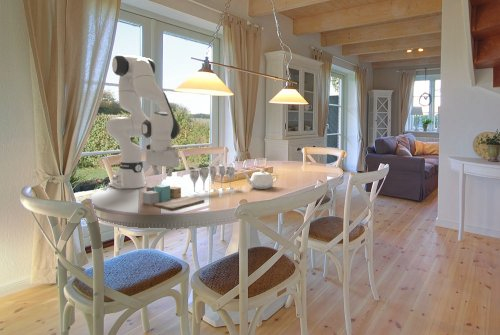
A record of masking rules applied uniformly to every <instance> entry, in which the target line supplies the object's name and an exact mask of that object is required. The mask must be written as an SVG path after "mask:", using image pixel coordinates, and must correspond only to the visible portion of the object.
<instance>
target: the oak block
mask: <svg viewBox="0 0 500 335" xmlns="http://www.w3.org/2000/svg"><path fill="white" fill-rule="evenodd" d="M181 197H182V187H179V186H170V200H172V199H177V198H181Z"/></svg>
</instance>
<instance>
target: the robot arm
mask: <svg viewBox="0 0 500 335" xmlns="http://www.w3.org/2000/svg"><path fill="white" fill-rule="evenodd" d="M111 68H112V72H113V73H114V74H115V75H117V76H119V79H118V105H119V106H120V108H121V109H122V110H124V111H125V112H128V113H129V114H130V116H129V117H127V116H125V117H124V116H118V117H112V118H111V117H110V118H109V119H108V120H107V122H106V124H105V130H106V133H107V134H108V135H109V136H110V137H112V138H113V139H114V140H115V141H116V143H117V144H118V147H119V149H120V160H121V161H120V162H119V163H118V165H119V168H118V169H117V170H116V171H115V173H113V175H112V181H111V182H108V183H107V184H108V186H109V187H112V188H115V189H119V190H121V189H122V190H123V189H138V188H144V187H146V185H147V181H146V176H145V170H144V169H143V168H144V162H143V154H142V153H143V152H142V150H143V149H142V147H141V146H140V145H139V144H137V143H135V142H133V141H132V139H131V138H144V137H145V138H146V139H149V140H151V142H149V143H148V144H146V145H145V150H146V151H145V162H146V164H147V165H148V166H151V168H152V170H153V175H159V174H160V172H159V170H158V167H165V168H166V167H167V169H168V172H166V177H172V176H173V171H174V169H175V168H179V167H180V156H179V152H178V151H179V150H178V149H177V148H176V147H175V146H172V143H173V142H172V140H175V139H176V138H177V137H178V136H179V135H180V132H181V131H180V130H181V127H180V125H179V124H180V123H179V122H178V121H177V119H176V117H175V115H174V112H173V109H172V107H171V104H170V102H169V99H168V97H167V95H166V93H165V91H164V90H162V89H161V88H160V87H159V85H158V83H157V81H156V77H155V72H156V64H155V62H154V60H152V59H151V58H148V57H142V56H137V55H123V54H117V55H115V56H114V57H113V59H112V62H111ZM141 98H142V99H144V100H146V101H150V102H151V103H154V104H156V106H158V107H159V109H160V111H155V112H153V113H152V116H151V117H148V116H147V115H146V113H145V112H144V111H143V108H142V104H141V103H142V102H141Z"/></svg>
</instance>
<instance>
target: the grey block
mask: <svg viewBox="0 0 500 335" xmlns="http://www.w3.org/2000/svg"><path fill="white" fill-rule="evenodd" d="M142 203H143V204H147V205H154V204H155V203H160V201H159V192H155V191H148V192H147V191H145V192H144V191H143V192H142Z"/></svg>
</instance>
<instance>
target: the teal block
mask: <svg viewBox="0 0 500 335" xmlns="http://www.w3.org/2000/svg"><path fill="white" fill-rule="evenodd" d="M154 187H155V192H159V202H164V201H168V200H171V198H170V187H171V185H167V184H159V185H154Z"/></svg>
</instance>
